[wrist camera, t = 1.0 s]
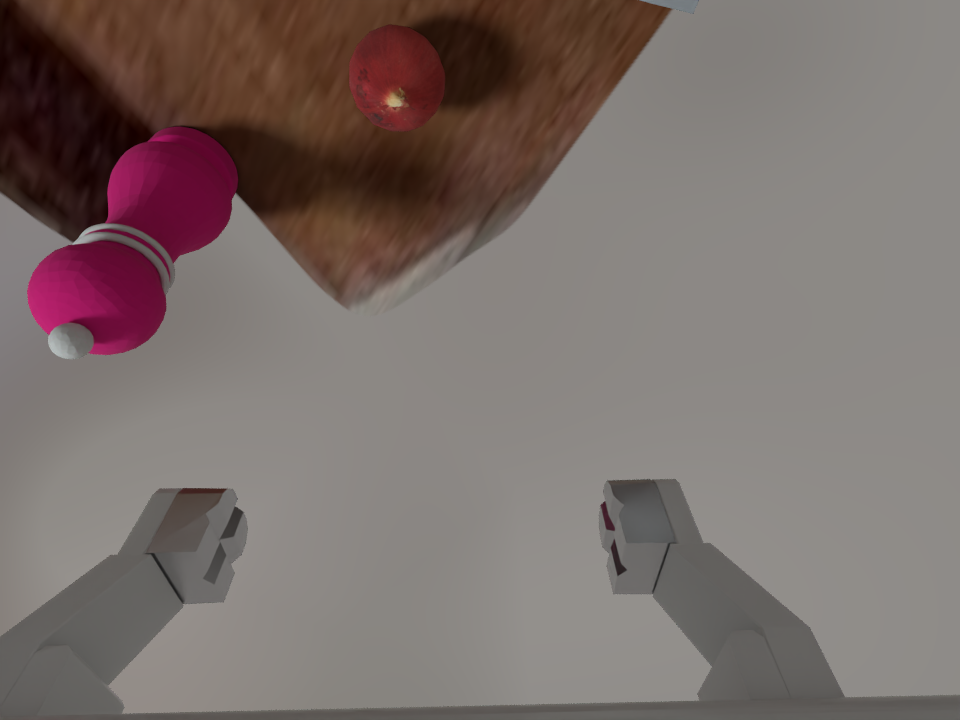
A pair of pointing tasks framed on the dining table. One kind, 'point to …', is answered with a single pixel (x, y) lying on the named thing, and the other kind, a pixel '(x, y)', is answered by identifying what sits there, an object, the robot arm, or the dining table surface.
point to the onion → (396, 78)
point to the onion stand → (676, 4)
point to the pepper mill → (134, 245)
